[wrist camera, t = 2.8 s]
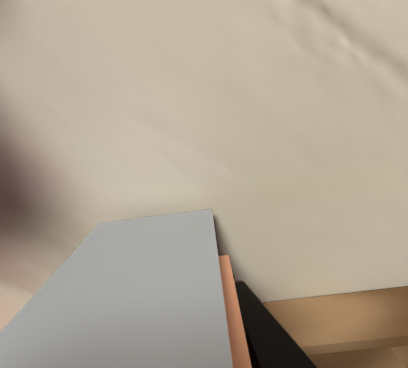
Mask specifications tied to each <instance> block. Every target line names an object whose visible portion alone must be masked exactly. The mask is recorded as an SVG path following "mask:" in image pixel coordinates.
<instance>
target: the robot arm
mask: <svg viewBox="0 0 408 368" xmlns="http://www.w3.org/2000/svg"><path fill="white" fill-rule="evenodd" d="M234 283H235V288H236V293H237V298H238V303H239V307H240V312H241V317H242V322H243V327H244V332H245V337H246V342H247V346H248V351H249V356H250V361H251V366H252V368H318V367H317V366H316V365H315V364H314V362H313V361H312V360H311V359H310V358H309V357H308V355H307V354H306V353H305V352H304V351H303V350H302V348H301V347H300V346H299V345H298V344H297V343H296V342H295V340H294V339H293V338H292V337H291V336H290V335H289V333H288V332H287V331H286V330H285V329H284V328H283V326H282V325H281V324H280V323H279V322H278V321H277V320H276V318H275V317H274V316H273V315H272V314H271V313H270V311H269V310H268V309H267V308H266V307H265V306H264V304H263V303H262V302H261V301H260V300H259V299H258V297H257V296H256V295H255V294H254V293H253V292H252V291H251V289H250V288H249V287H248V286H247V285H246V284H245V282H243V281H235V282H234Z"/></svg>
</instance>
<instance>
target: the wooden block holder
mask: <svg viewBox="0 0 408 368" xmlns="http://www.w3.org/2000/svg"><path fill="white" fill-rule="evenodd" d="M263 304H264V306H265V307H266V308H267V309H268V310H269V311H270V313H271V314H272V315H273V316H274V317H275V318H276V320H277V321H278V322H279V323H280V324H281V325H282V326H283V328H284V329H285V330H286V331H287V332H288V333H289V335H290V336H291V337H292V338H293V339H294V340H295V342H296V343H297V344H298V345H299V346H300V347H301V348H302V350H303V351H304V352H305V353H306V354H307V355H308V357H309V358H310V359H311V360H312V361H313V362H314V364H315V365H316V366H317V367H318V368H408V286H405V287H397V288H388V289H379V290H370V291H362V292H353V293H344V294H335V295H327V296H318V297H309V298H300V299H292V300H283V301H274V302H265V303H263Z"/></svg>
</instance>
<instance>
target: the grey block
mask: <svg viewBox="0 0 408 368" xmlns="http://www.w3.org/2000/svg"><path fill="white" fill-rule="evenodd" d="M0 368H252V366H251V361H250V356H249V351H248V346H247V342H246V337H245V332H244V327H243V322H242V317H241V312H240V307H239V303H238V298H237V293H236V288H235V283H234V278H233V273H232V269H231V264H230V259H229V255H222V256H218V250H217V242H216V235H215V227H214V219H213V212H212V209H207V210H199V211H191V212H183V213H175V214H167V215H159V216H151V217H143V218H135V219H127V220H119V221H111V222H103V223H99V224H98V225H97V226H96V228H95V229H94V230H93V231H92V232H91V233H90V234H89V235H88V236H87V237H86V239H85V240H84V241H83V242H82V243H81V244H80V245H79V246H78V247H77V248H76V250H75V251H74V252H73V253H72V254H71V255H70V256H69V257H68V258H67V259H66V261H65V262H64V263H63V264H62V265H61V266H60V267H59V268H58V269H57V270H56V271H55V273H54V274H53V275H52V276H51V277H50V278H49V279H48V280H47V281H46V282H45V284H44V285H43V286H42V287H41V288H40V289H39V290H38V291H37V292H36V293H35V295H34V296H33V297H32V298H31V299H30V300H29V301H28V302H27V303H26V304H25V306H24V307H23V308H22V309H21V310H20V311H19V312H18V313H17V314H16V315H15V317H14V318H13V319H12V320H11V321H10V322H9V323H8V324H7V325H6V326H5V327H4V329H3V330H2V331H1V332H0Z"/></svg>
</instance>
